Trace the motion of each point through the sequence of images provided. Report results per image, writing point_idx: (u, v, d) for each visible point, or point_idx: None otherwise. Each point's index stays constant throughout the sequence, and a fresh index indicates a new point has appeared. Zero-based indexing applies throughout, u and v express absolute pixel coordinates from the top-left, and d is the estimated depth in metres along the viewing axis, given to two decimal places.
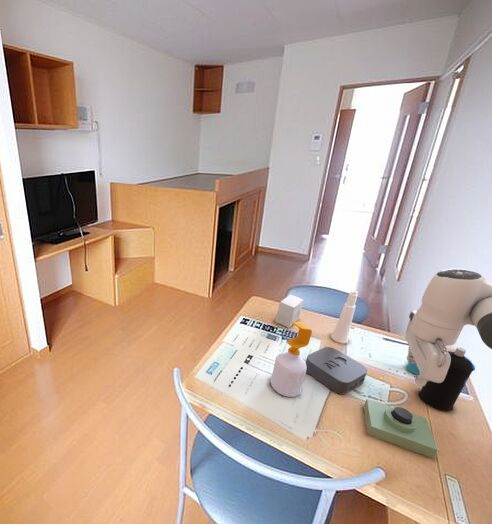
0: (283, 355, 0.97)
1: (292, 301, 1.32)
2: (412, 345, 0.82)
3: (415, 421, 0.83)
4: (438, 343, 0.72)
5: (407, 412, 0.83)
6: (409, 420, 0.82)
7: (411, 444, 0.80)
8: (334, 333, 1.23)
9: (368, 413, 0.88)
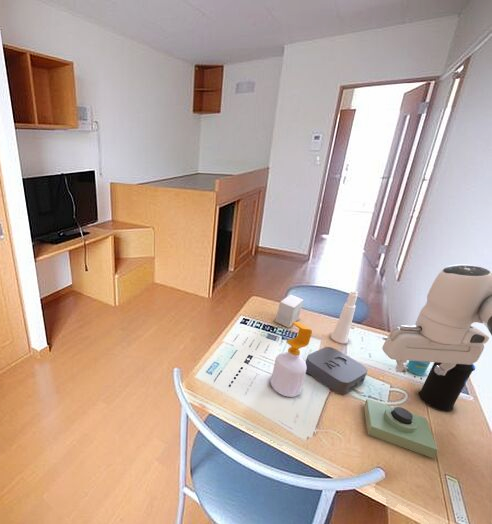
0: (283, 355, 0.97)
1: (292, 301, 1.32)
2: None
3: (415, 421, 0.83)
4: None
5: (407, 412, 0.83)
6: (409, 420, 0.82)
7: (411, 444, 0.80)
8: (334, 333, 1.23)
9: (368, 413, 0.88)
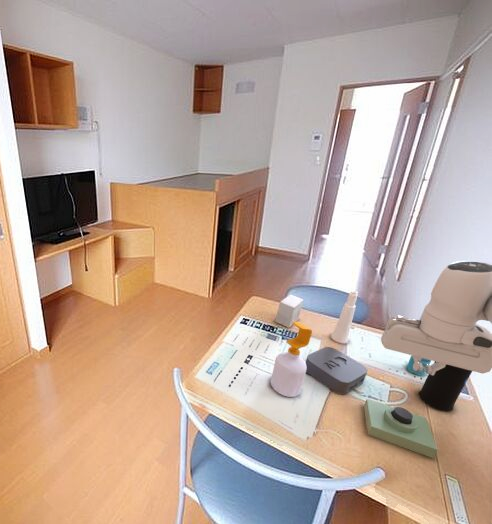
0: (283, 355, 0.97)
1: (292, 301, 1.32)
2: None
3: (415, 421, 0.83)
4: None
5: (407, 412, 0.83)
6: (409, 420, 0.82)
7: (411, 444, 0.80)
8: (334, 333, 1.23)
9: (368, 413, 0.88)
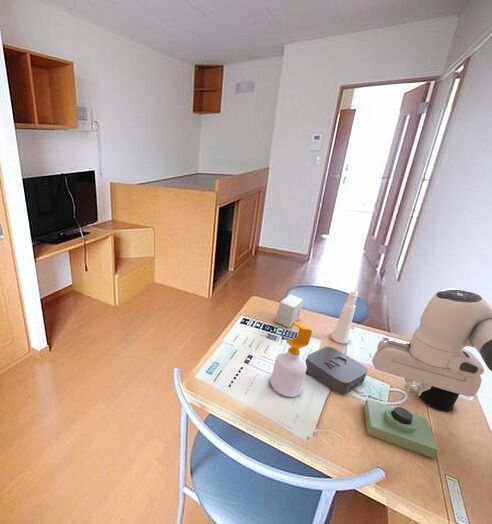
0: (283, 355, 0.97)
1: (292, 301, 1.32)
2: None
3: (415, 421, 0.83)
4: None
5: (407, 412, 0.83)
6: (409, 420, 0.82)
7: (411, 444, 0.80)
8: (334, 333, 1.23)
9: (368, 413, 0.88)
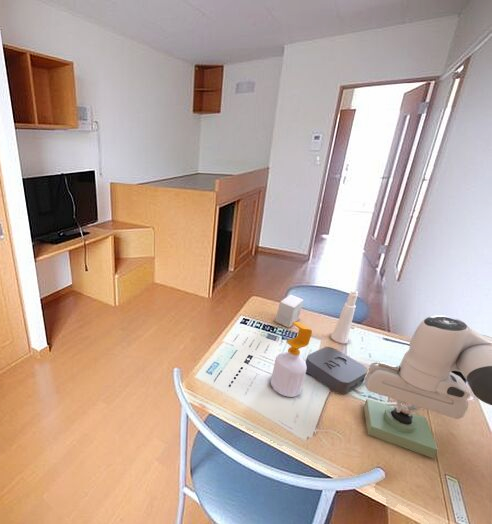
0: (283, 355, 0.97)
1: (292, 301, 1.32)
2: None
3: (415, 421, 0.83)
4: None
5: None
6: (409, 420, 0.82)
7: (411, 444, 0.80)
8: (334, 333, 1.23)
9: (368, 413, 0.88)
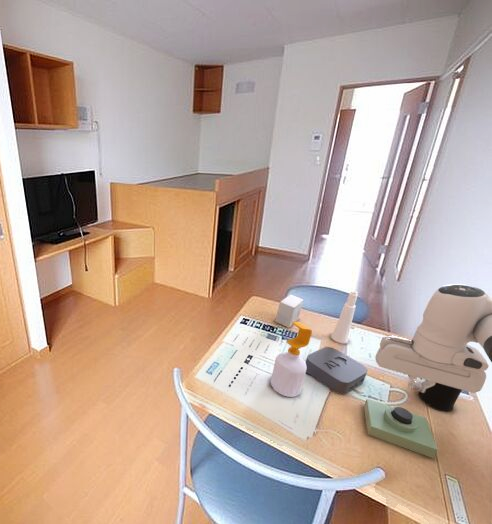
0: (283, 355, 0.97)
1: (292, 301, 1.32)
2: None
3: (415, 421, 0.83)
4: None
5: (407, 412, 0.83)
6: (409, 420, 0.82)
7: (411, 444, 0.80)
8: (334, 333, 1.23)
9: (368, 413, 0.88)
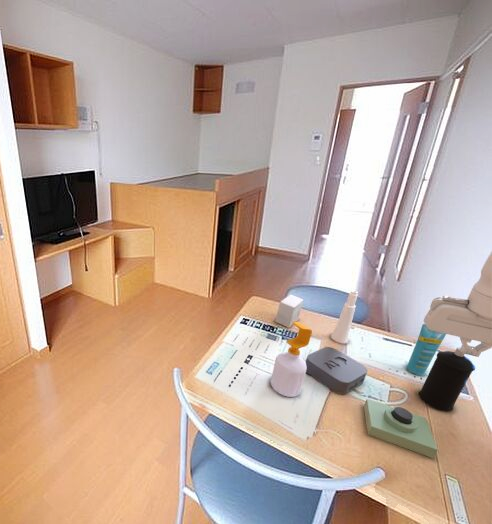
0: (283, 355, 0.97)
1: (292, 301, 1.32)
2: None
3: (415, 421, 0.83)
4: None
5: (407, 412, 0.83)
6: (409, 420, 0.82)
7: (411, 444, 0.80)
8: (334, 333, 1.23)
9: (368, 413, 0.88)
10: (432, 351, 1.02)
